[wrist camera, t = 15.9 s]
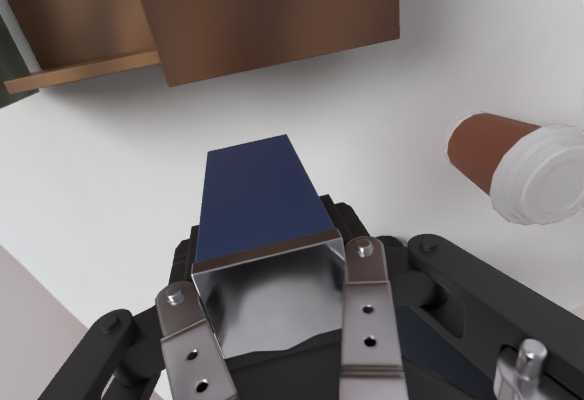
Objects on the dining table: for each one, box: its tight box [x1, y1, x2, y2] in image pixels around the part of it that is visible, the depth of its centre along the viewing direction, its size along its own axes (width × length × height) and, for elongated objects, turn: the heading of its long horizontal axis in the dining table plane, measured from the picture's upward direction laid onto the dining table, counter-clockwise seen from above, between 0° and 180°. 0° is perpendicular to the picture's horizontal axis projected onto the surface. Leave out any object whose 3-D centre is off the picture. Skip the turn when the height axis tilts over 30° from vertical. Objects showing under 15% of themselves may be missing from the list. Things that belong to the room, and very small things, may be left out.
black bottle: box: [376, 236, 498, 400], centre depth 31 cm, size 6×6×30 cm
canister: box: [191, 134, 345, 359], centre depth 16 cm, size 4×4×10 cm
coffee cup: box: [444, 111, 584, 225], centre depth 34 cm, size 9×9×12 cm
